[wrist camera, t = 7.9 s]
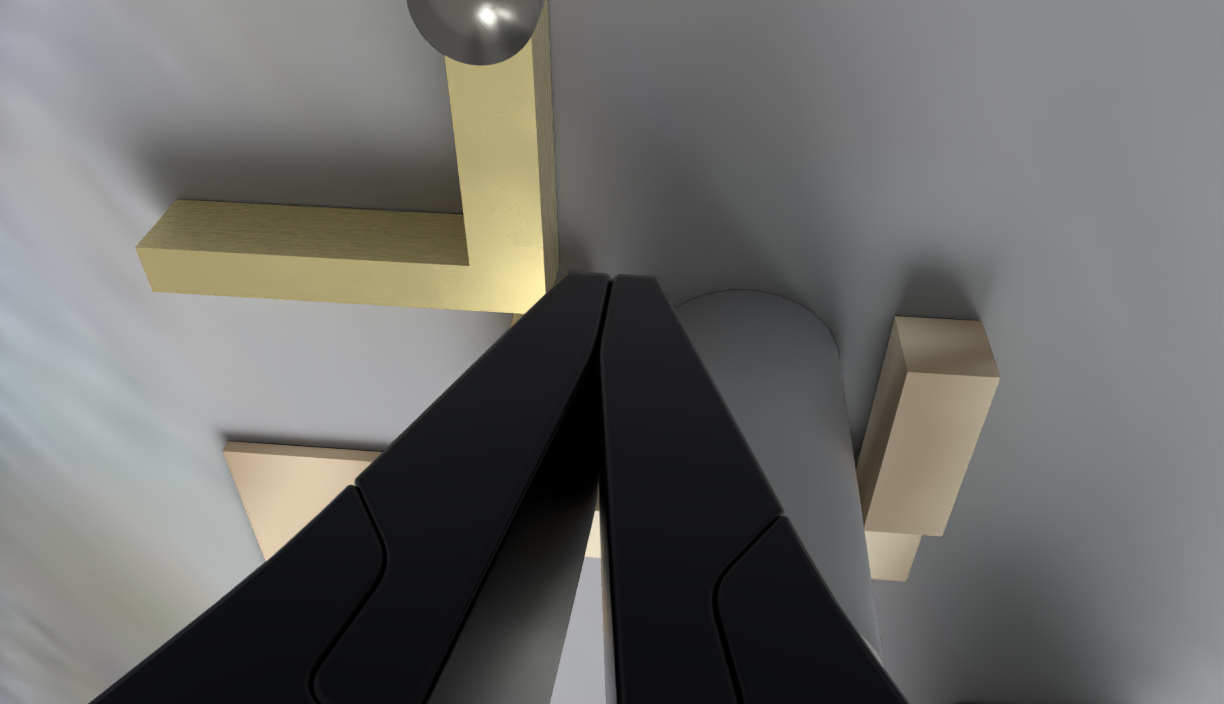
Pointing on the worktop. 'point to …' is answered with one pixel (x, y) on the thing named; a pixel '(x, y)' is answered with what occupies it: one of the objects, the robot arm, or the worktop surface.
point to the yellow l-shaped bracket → (396, 240)
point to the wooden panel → (289, 485)
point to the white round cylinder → (793, 428)
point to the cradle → (913, 436)
